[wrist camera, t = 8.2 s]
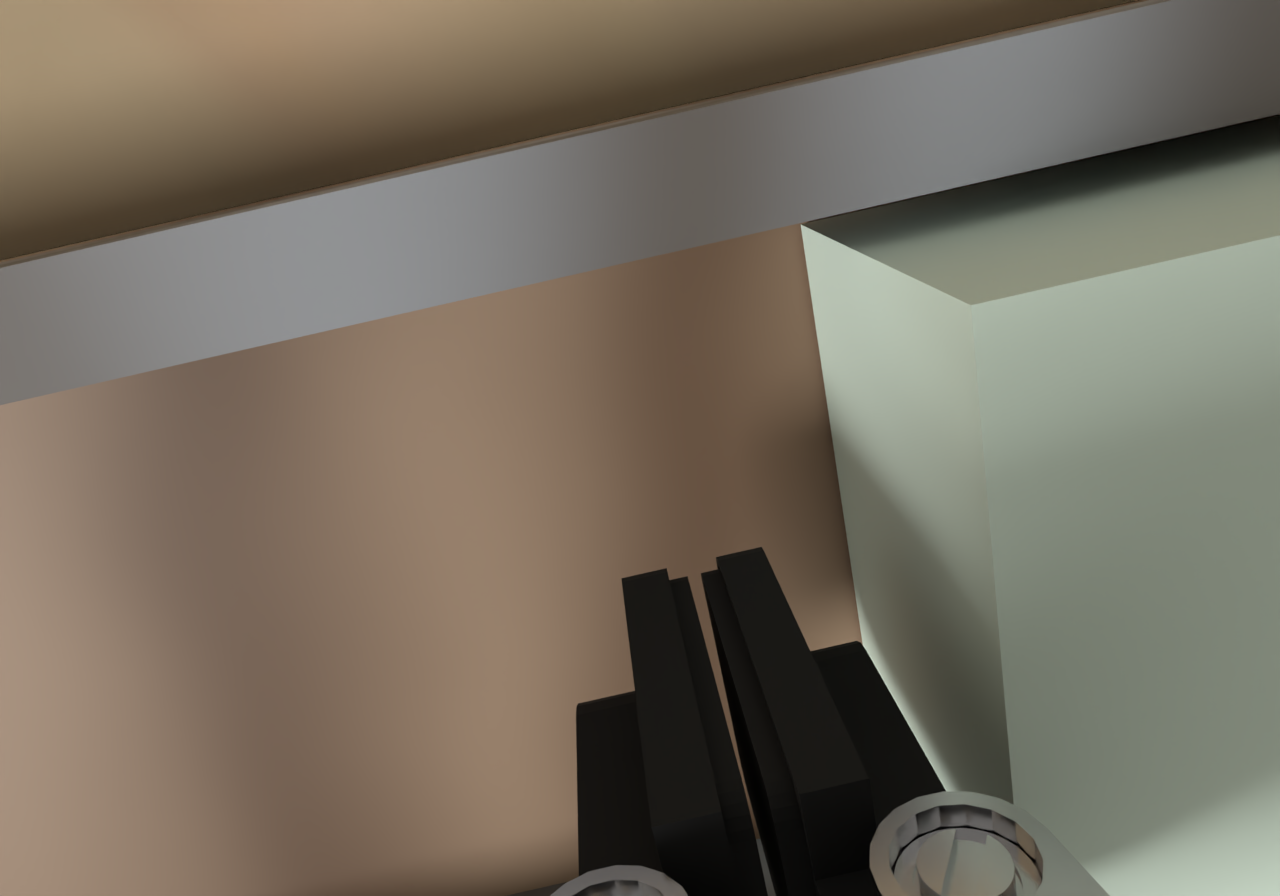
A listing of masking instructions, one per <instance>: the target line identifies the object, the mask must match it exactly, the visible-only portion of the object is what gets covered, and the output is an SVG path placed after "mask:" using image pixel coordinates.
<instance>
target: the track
mask: <svg viewBox="0 0 1280 896" xmlns="http://www.w3.org/2000/svg"><path fill="white" fill-rule="evenodd" d="M1279 115H1280V0H1138V1H1134V2H1130V3H1125V4H1121V5H1117V6H1112V7H1108V8H1103V9H1099V10H1095V11H1090V12H1086V13H1082V14H1077V15H1073V16H1068V17H1064V18H1060V19H1055V20H1051V21H1047V22H1042V23H1038V24H1033V25H1029V26H1025V27H1020V28H1016V29H1012V30H1007V31H1003V32H998V33H994V34H990V35H985V36H981V37H977V38H972V39H968V40H963V41H959V42H955V43H950V44H946V45H942V46H937V47H933V48H928V49H924V50H920V51H915V52H911V53H907V54H902V55H898V56H893V57H889V58H885V59H880V60H876V61H872V62H867V63H863V64H858V65H854V66H850V67H845V68H841V69H836V70H832V71H828V72H823V73H819V74H815V75H810V76H806V77H801V78H797V79H793V80H788V81H784V82H780V83H775V84H771V85H766V86H762V87H758V88H753V89H749V90H745V91H740V92H736V93H731V94H727V95H723V96H718V97H714V98H710V99H705V100H701V101H696V102H692V103H688V104H683V105H679V106H675V107H670V108H666V109H661V110H657V111H653V112H648V113H644V114H640V115H635V116H631V117H626V118H622V119H618V120H613V121H609V122H605V123H600V124H596V125H591V126H587V127H583V128H578V129H574V130H570V131H565V132H561V133H556V134H552V135H548V136H543V137H539V138H535V139H530V140H526V141H521V142H517V143H513V144H508V145H504V146H500V147H495V148H491V149H486V150H482V151H478V152H473V153H469V154H464V155H460V156H456V157H451V158H447V159H443V160H438V161H434V162H429V163H425V164H421V165H416V166H412V167H408V168H403V169H399V170H394V171H390V172H386V173H381V174H377V175H373V176H368V177H364V178H359V179H355V180H351V181H346V182H342V183H338V184H333V185H329V186H324V187H320V188H316V189H311V190H307V191H303V192H298V193H294V194H289V195H285V196H281V197H276V198H272V199H268V200H263V201H259V202H254V203H250V204H246V205H241V206H237V207H233V208H228V209H224V210H219V211H215V212H211V213H206V214H202V215H198V216H193V217H189V218H184V219H180V220H176V221H171V222H167V223H163V224H158V225H154V226H149V227H145V228H141V229H136V230H132V231H128V232H123V233H119V234H114V235H110V236H106V237H101V238H97V239H92V240H88V241H84V242H79V243H75V244H71V245H66V246H62V247H57V248H53V249H49V250H44V251H40V252H36V253H31V254H27V255H22V256H18V257H14V258H9V259H5V260H1V261H0V896H550V895H551V894H553V893H554V892H555V891H556V890H558V889H559V888H560V887H561V886H562V885H564V884H565V883H567V882H569V881H571V880H573V879H575V878H577V877H579V862H578V805H577V748H576V706H577V705H578V703H583V702H587V701H591V700H596V699H600V698H605V697H609V696H614V695H618V694H623V693H627V692H631V691H635V687H634V679H633V671H632V662H631V654H630V646H629V638H628V630H627V621H626V613H625V605H624V597H623V588H622V579H621V578H625V577H629V576H634V575H638V574H643V573H647V572H652V571H656V570H661V569H665V568H667V572H668V576H669V580H672V579H677V578H681V577H685V576H688V580H689V583H690V587H691V591H692V595H693V598H694V602H695V606H696V610H697V613H698V617H699V621H700V625H701V628H702V632H703V636H704V639H705V643H706V647H707V651H708V654H709V658H710V662H711V666H712V669H713V673H714V677H715V681H716V684H717V688H718V692H719V696H720V699H721V703H722V707H723V711H724V714H725V718H726V722H727V726H728V729H729V733H730V737H731V741H732V744H733V748H734V752H735V756H736V759H737V763H738V767H739V770H740V774H741V778H742V782H743V786H744V790H745V794H746V798H747V802H748V806H749V810H750V814H751V819H752V823H753V828H754V832H755V837H756V841H757V846H758V851H759V856H760V860H761V865H762V870H763V875H764V879H765V884H766V889H767V893H768V896H776V895H775V891H774V888H773V884H772V880H771V876H770V873H769V869H768V865H767V862H766V858H765V854H764V851H763V847H762V843H761V840H760V836H759V832H758V829H757V825H756V821H755V818H754V814H753V810H752V807H751V803H750V799H749V796H748V792H747V788H746V784H745V780H744V776H743V772H742V767H741V763H740V758H739V754H738V749H737V744H736V739H735V735H734V730H733V725H732V721H731V716H730V711H729V706H728V702H727V697H726V692H725V687H724V683H723V678H722V673H721V668H720V664H719V659H718V654H717V649H716V645H715V640H714V635H713V630H712V626H711V621H710V616H709V612H708V607H707V602H706V597H705V593H704V588H703V583H702V578H701V573H704V572H708V571H713V570H717V563H716V557H719V556H723V555H727V554H732V553H736V552H741V551H745V550H750V549H754V548H758V547H762V548H763V550H764V552H765V554H766V556H767V558H768V561H769V563H770V565H771V567H772V569H773V571H774V574H775V576H776V578H777V580H778V582H779V584H780V586H781V589H782V591H783V593H784V595H785V597H786V599H787V602H788V604H789V606H790V608H791V610H792V612H793V615H794V617H795V619H796V621H797V623H798V625H799V628H800V630H801V632H802V634H803V636H804V638H805V641H806V643H807V645H808V647H809V649H810V651H814V650H818V649H823V648H827V647H831V646H836V645H840V644H845V643H849V642H854V641H858V642H861V644H862V645H863V643H862V636H861V630H860V623H859V616H858V609H857V603H856V596H855V589H854V582H853V576H852V569H851V562H850V555H849V548H848V542H847V535H846V528H845V521H844V515H843V508H842V501H841V494H840V488H839V481H838V474H837V467H836V461H835V454H834V447H833V440H832V434H831V427H830V420H829V413H828V407H827V400H826V393H825V386H824V379H823V373H822V366H821V359H820V352H819V346H818V339H817V332H816V325H815V319H814V312H813V305H812V298H811V292H810V285H809V278H808V271H807V265H806V258H805V251H804V244H803V238H802V231H801V224H804V223H809V222H813V221H818V220H822V219H826V218H831V217H835V216H839V215H844V214H848V213H853V212H857V211H861V210H866V209H870V208H875V207H879V206H883V205H888V204H892V203H897V202H901V201H905V200H910V199H914V198H919V197H923V196H927V195H932V194H936V193H940V192H945V191H949V190H954V189H958V188H962V187H967V186H971V185H976V184H980V183H984V182H989V181H993V180H998V179H1002V178H1006V177H1011V176H1015V175H1020V174H1024V173H1028V172H1033V171H1037V170H1041V169H1046V168H1050V167H1055V166H1059V165H1063V164H1068V163H1072V162H1077V161H1081V160H1085V159H1090V158H1094V157H1099V156H1103V155H1107V154H1112V153H1116V152H1121V151H1125V150H1129V149H1134V148H1138V147H1142V146H1147V145H1151V144H1156V143H1160V142H1164V141H1169V140H1173V139H1178V138H1182V137H1186V136H1191V135H1195V134H1200V133H1204V132H1208V131H1213V130H1217V129H1222V128H1226V127H1230V126H1235V125H1239V124H1243V123H1248V122H1252V121H1257V120H1261V119H1265V118H1270V117H1274V116H1279Z"/></svg>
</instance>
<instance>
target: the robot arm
mask: <svg viewBox="0 0 1280 896" xmlns="http://www.w3.org/2000/svg"><path fill="white" fill-rule="evenodd" d="M716 563H717V570H713V571H708V572H704V573H701V578H702V583H703V588H704V593H705V597H706V602H707V607H708V612H709V616H710V621H711V626H712V630H713V635H714V640H715V645H716V649H717V654H718V659H719V664H720V668H721V673H722V678H723V683H724V687H725V692H726V697H727V702H728V706H729V711H730V716H731V721H732V725H733V730H734V735H735V739H736V744H737V749H738V754H739V758H740V763H741V767H742V772H743V776H744V780H745V784H746V788H747V792H748V796H749V799H750V803H751V807H752V810H753V814H754V818H755V821H756V825H757V829H758V832H759V836H760V840H761V843H762V847H763V851H764V854H765V858H766V862H767V865H768V869H769V873H770V876H771V880H772V884H773V888H774V891H775V895H776V896H1110V895H1109V894H1108V893H1107V892H1106V891H1105V890H1104V889H1103V888H1102V887H1101V886H1100V885H1099V884H1098V883H1097V881H1096V880H1095V879H1094V878H1093V877H1092V876H1091V875H1090V874H1089V873H1088V872H1087V871H1086V870H1085V868H1084V867H1083V866H1082V865H1081V864H1080V863H1079V862H1078V861H1077V860H1076V859H1075V858H1074V857H1073V855H1072V854H1071V853H1070V852H1069V851H1068V850H1067V849H1066V848H1065V847H1064V846H1063V845H1062V844H1061V843H1060V841H1059V840H1058V839H1057V838H1056V837H1055V836H1054V835H1053V834H1052V833H1051V832H1050V831H1049V830H1048V828H1047V827H1045V826H1044V825H1043V824H1042V823H1040V822H1039V821H1038V820H1037V819H1036V818H1034V817H1033V816H1032V815H1031V814H1029V813H1028V812H1027V811H1026V810H1024V809H1022V808H1020V807H1017V806H1015V805H1013V804H1011V803H1009V802H1007V801H1005V800H1003V799H1000V798H997V797H993V796H988V795H984V794H979V793H975V792H946V790H945V788H944V787H943V785H942V783H941V781H940V780H939V778H938V776H937V774H936V772H935V771H934V769H933V767H932V765H931V764H930V762H929V760H928V758H927V757H926V755H925V753H924V751H923V750H922V748H921V746H920V744H919V743H918V741H917V739H916V737H915V736H914V734H913V732H912V730H911V728H910V727H909V725H908V723H907V721H906V720H905V718H904V716H903V714H902V713H901V711H900V709H899V707H898V706H897V704H896V702H895V700H894V699H893V697H892V695H891V693H890V691H889V690H888V688H887V686H886V684H885V683H884V681H883V679H882V677H881V676H880V674H879V672H878V670H877V669H876V667H875V665H874V663H873V662H872V660H871V658H870V656H869V654H868V653H867V651H866V649H865V648H864V647H863V645H862V644H861V642H858V641H854V642H849V643H845V644H840V645H836V646H831V647H827V648H823V649H818V650H814V651H810V649H809V647H808V645H807V643H806V641H805V638H804V636H803V634H802V632H801V630H800V628H799V625H798V623H797V621H796V619H795V617H794V615H793V612H792V610H791V608H790V606H789V604H788V602H787V599H786V597H785V595H784V593H783V591H782V589H781V586H780V584H779V582H778V580H777V578H776V576H775V574H774V571H773V569H772V567H771V565H770V563H769V561H768V558H767V556H766V554H765V552H764V550H763V548H762V547H758V548H754V549H750V550H745V551H741V552H736V553H732V554H727V555H723V556H719V557H716ZM621 579H622V588H623V597H624V605H625V613H626V621H627V630H628V638H629V646H630V654H631V662H632V671H633V679H634V687H635V691H631V692H627V693H623V694H618V695H614V696H609V697H605V698H600V699H596V700H591V701H587V702H583V703H578V705H577V706H576V748H577V805H578V862H579V877H577V878H575V879H573V880H571V881H569V882H567V883H565V884H564V885H562V886H561V887H560V888H559V889H558V890H556V891H555V892H554V893H553V894H551V895H550V896H768V893H767V889H766V884H765V879H764V875H763V870H762V865H761V860H760V856H759V851H758V846H757V841H756V837H755V832H754V828H753V823H752V819H751V814H750V810H749V806H748V802H747V798H746V794H745V790H744V786H743V782H742V778H741V774H740V770H739V767H738V763H737V759H736V756H735V752H734V748H733V744H732V741H731V737H730V733H729V729H728V726H727V722H726V718H725V714H724V711H723V707H722V703H721V699H720V696H719V692H718V688H717V684H716V681H715V677H714V673H713V669H712V666H711V662H710V658H709V654H708V651H707V647H706V643H705V639H704V636H703V632H702V628H701V625H700V621H699V617H698V613H697V610H696V606H695V602H694V598H693V595H692V591H691V587H690V583H689V580H688V576H685V577H681V578H677V579H672V580H669V576H668V572H667V568H665V569H661V570H656V571H652V572H647V573H643V574H638V575H634V576H629V577H625V578H621Z"/></svg>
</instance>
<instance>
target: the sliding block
mask: <svg viewBox="0 0 1280 896" xmlns="http://www.w3.org/2000/svg"><path fill="white" fill-rule="evenodd" d="M801 231H802V238H803V244H804V251H805V258H806V265H807V271H808V278H809V285H810V292H811V298H812V305H813V312H814V319H815V325H816V332H817V339H818V346H819V352H820V359H821V366H822V373H823V379H824V386H825V393H826V400H827V407H828V413H829V420H830V427H831V434H832V440H833V447H834V454H835V461H836V467H837V474H838V481H839V488H840V494H841V501H842V508H843V515H844V521H845V528H846V535H847V542H848V548H849V555H850V562H851V569H852V576H853V582H854V589H855V596H856V603H857V609H858V616H859V623H860V630H861V636H862V643H863V647H864V648H865V649H866V651H867V653H868V654H869V656H870V658H871V660H872V662H873V663H874V665H875V667H876V669H877V670H878V672H879V674H880V676H881V677H882V679H883V681H884V683H885V684H886V686H887V688H888V690H889V691H890V693H891V695H892V697H893V699H894V700H895V702H896V704H897V706H898V707H899V709H900V711H901V713H902V714H903V716H904V718H905V720H906V721H907V723H908V725H909V727H910V728H911V730H912V732H913V734H914V736H915V737H916V739H917V741H918V743H919V744H920V746H921V748H922V750H923V751H924V753H925V755H926V757H927V758H928V760H929V762H930V764H931V765H932V767H933V769H934V771H935V772H936V774H937V776H938V778H939V780H940V781H941V783H942V785H943V787H944V788H945V790H946V792H975V793H979V794H984V795H988V796H993V797H997V798H1000V799H1003V800H1005V801H1007V802H1009V803H1011V804H1013V805H1015V806H1017V807H1020V808H1022V809H1024V810H1026V811H1027V812H1028V813H1029V814H1031V815H1032V816H1033V817H1034V818H1036V819H1037V820H1038V821H1039V822H1040V823H1042V824H1043V825H1044V826H1045V827H1047V828H1048V830H1049V831H1050V832H1051V833H1052V834H1053V835H1054V836H1055V837H1056V838H1057V839H1058V840H1059V841H1060V843H1061V844H1062V845H1063V846H1064V847H1065V848H1066V849H1067V850H1068V851H1069V852H1070V853H1071V854H1072V855H1073V857H1074V858H1075V859H1076V860H1077V861H1078V862H1079V863H1080V864H1081V865H1082V866H1083V867H1084V868H1085V870H1086V871H1087V872H1088V873H1089V874H1090V875H1091V876H1092V877H1093V878H1094V879H1095V880H1096V881H1097V883H1098V884H1099V885H1100V886H1101V887H1102V888H1103V889H1104V890H1105V891H1106V892H1107V893H1108V894H1109V895H1110V896H1280V115H1279V116H1274V117H1270V118H1265V119H1261V120H1257V121H1252V122H1248V123H1243V124H1239V125H1235V126H1230V127H1226V128H1222V129H1217V130H1213V131H1208V132H1204V133H1200V134H1195V135H1191V136H1186V137H1182V138H1178V139H1173V140H1169V141H1164V142H1160V143H1156V144H1151V145H1147V146H1142V147H1138V148H1134V149H1129V150H1125V151H1121V152H1116V153H1112V154H1107V155H1103V156H1099V157H1094V158H1090V159H1085V160H1081V161H1077V162H1072V163H1068V164H1063V165H1059V166H1055V167H1050V168H1046V169H1041V170H1037V171H1033V172H1028V173H1024V174H1020V175H1015V176H1011V177H1006V178H1002V179H998V180H993V181H989V182H984V183H980V184H976V185H971V186H967V187H962V188H958V189H954V190H949V191H945V192H940V193H936V194H932V195H927V196H923V197H919V198H914V199H910V200H905V201H901V202H897V203H892V204H888V205H883V206H879V207H875V208H870V209H866V210H861V211H857V212H853V213H848V214H844V215H839V216H835V217H831V218H826V219H822V220H818V221H813V222H809V223H804V224H801Z"/></svg>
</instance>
